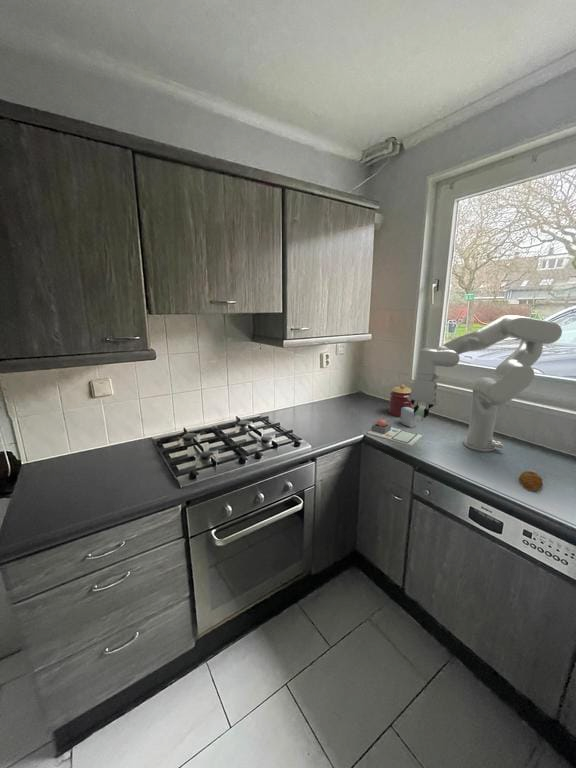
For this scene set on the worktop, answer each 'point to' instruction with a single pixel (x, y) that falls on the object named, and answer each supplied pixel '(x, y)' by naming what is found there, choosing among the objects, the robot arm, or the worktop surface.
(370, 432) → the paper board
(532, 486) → the pastry
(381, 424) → the button
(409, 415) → the medicine box
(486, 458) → the worktop surface
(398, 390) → the canister
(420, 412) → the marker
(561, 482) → the worktop surface
